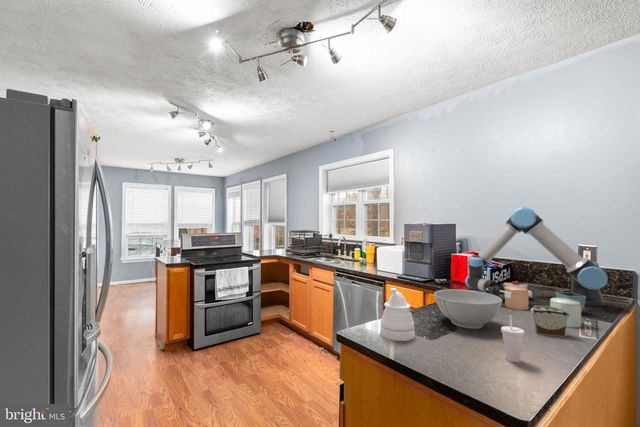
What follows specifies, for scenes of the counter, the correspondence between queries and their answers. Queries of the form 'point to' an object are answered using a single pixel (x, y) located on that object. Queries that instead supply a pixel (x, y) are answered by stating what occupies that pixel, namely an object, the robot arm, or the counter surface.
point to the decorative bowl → (468, 307)
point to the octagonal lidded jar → (517, 298)
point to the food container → (550, 320)
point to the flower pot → (572, 297)
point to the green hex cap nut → (569, 310)
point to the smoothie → (512, 342)
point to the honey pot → (397, 318)
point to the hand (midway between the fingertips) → (521, 294)
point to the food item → (518, 286)
